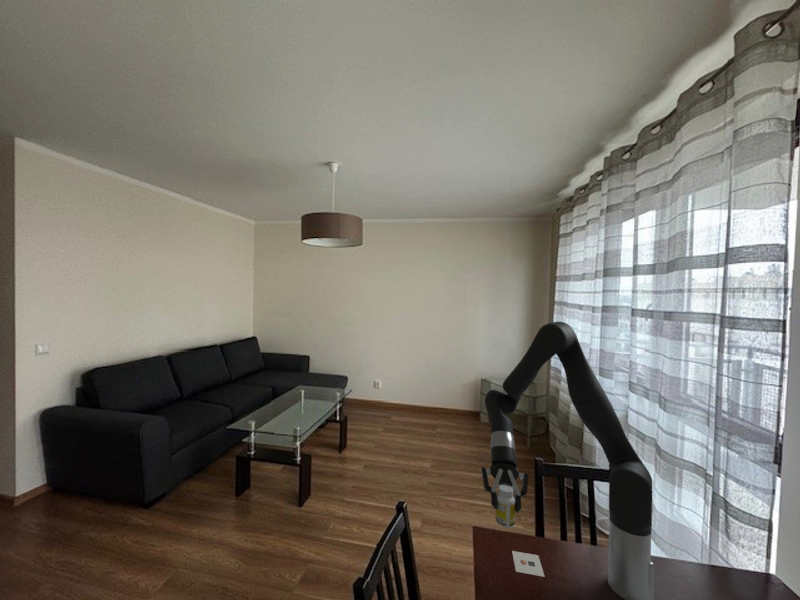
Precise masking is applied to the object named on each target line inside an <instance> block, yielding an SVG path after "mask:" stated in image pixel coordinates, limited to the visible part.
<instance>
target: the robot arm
mask: <svg viewBox="0 0 800 600" xmlns="http://www.w3.org/2000/svg"><path fill="white" fill-rule="evenodd" d="M554 356H557V357H558V359H559V361H560V364H561V365H562V367H563V370H564V373H565V378H566V385H567V390H568V395H569V398H570V400H571V402H572V405H573V407H574V408H575V410H576V412H577V415H578V416H579V418H580V420H581V421H582V423H583V424H584V425H585V428H587V430H588V431H589V432H590V433H591V434H592V436H593V437H594V438H595V440H597V442H598V444H599V446H600V447H601V448H602V450H603V452H604V455H605V457H606V459H607V462H608V464H609V467H610V471H611V472H610V476H609V484H608V511H609V516H608V517H609V525H608V531H609V532H608V556H607V557H608V558H607V559H608V560H607V583H608V586H609V587H610V589H611V590H612V591H613V593H615V594H616V595H617V596H619V597H620V598H622V599H623V600H655V599H654V598H655V597H654V596H655V595H654V594H655V591H654V590H655V564H654V563H653V561H652V560H651V559H652V554H651V551H652V525H653V523H652V521H653V519H652V518H653V517H652V516H653V479H652V475H651V474H650V472H649V469H647V467H646V465H645V464H644V462H643V461H642V459H641V458H640V457H639V455H638V453H637V452H636V450H635V449H634V447H633V446H632V444H631V442H630V440H629V439H628V437H627V435H626V433H625V431H624V428H623V426H622V424H621V421H620V419H619V417H618V415H617V413H616V411H615V408H614V407H613V405H612V403H611V402H610V399H609V397H608V395H607V394H606V392H605V390H604V388H603V387H602V385H601V383H600V381H599V380H598V378H597V376H596V374H595V373H594V370H593V369H592V367H591V366H590V364H589V362H588V360H587V358H586V356H585V354H584V351H583V348H582V346H581V343H580V341H579V338H578V336H577V334H576V331H575V330H574V328H573V327H572V326H571V325H570V324H568V323H566V322H565V321H553V322H550V323H546V324H544V325H542V326H541V327H540V328H539V329H538V332H537V333H536V335H535V337H534V338H533V340H532V343H531V344H530V346H529V347H528V349H527V351H526V352H525V354H524V356H523V357H522V358H521V359H520V361H519V363H518V364H517V365H516V366H515V367H514V369H513V370H512V371H511V372H510V373H509V375H508V376H506V378H505V379H504V381H503V382H502V389H503V391H504V392H505V393H504V392H502V391H499V390H495V389H491V390H488V392H487V393H486V395H485V398H484V404H485V405H484V406H485V410H486V412H487V416H488V418H489V422H490V459H491V460H490V461H491V463H490V464H491V466H490V467H489V468H488V467H487V468H486V467H482V468H481V471H480V473H481V478H482V484H483V489H484V491H485V492H488V493H489V494H490V504H491V507H493V510H496V509H497V496H496V495H497V492H496V491H497V489H498V488H499V486H500V485H509V486H511V487H512V488H513V495H514V497H515V500H516V506H515V514H516V513H517V514H519V513H520V511H521V510H522V500H521V499H522V498H525V497H527V494H528V486H529V474H528V472H525V473H523V472H519V471H520V470H519V469H518V466H517V464H518V463H517V452H516V442H515V438H514V427H513V421H512V420H511V418H510V417H508V416H510V415H512V414H513V413H515V411H516V409H517V406H518V404H519V402H520V400H521V397H522V396H523V394H524V393H525V392H526V391H527V389H528V388H529V387H530V386H531V385H532V383H533V382H534V381H535V379H536V377H537V375H538V374H539V371H540V370H541V369H542V367H543V366H544V365H545V364H546V363H547V362H548V361H550V360H551V358H553V357H554ZM490 475H491V476H492V477H493V479H494V482H493V484H492V486H490V484H489V480H488V477H489V476H490ZM518 477H519V480H520V481H521V482H522V485H521V486H522V487H521V490H520V488H519V487H518V484H517V478H518Z"/></svg>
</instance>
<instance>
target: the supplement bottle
mask: <svg viewBox="0 0 800 600" xmlns="http://www.w3.org/2000/svg"><path fill="white" fill-rule="evenodd" d="M496 496H497V509H495V522H496V524H498V526H500V527H502V528H505V529H511V528H513V527H514V526H515V525H516V509H515V506H516V500H515V495H514V492H513V488H512V487H511V486H509V485H505V484H504V485H500V484H499V485H498V492H496Z"/></svg>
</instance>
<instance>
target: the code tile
mask: <svg viewBox="0 0 800 600" xmlns="http://www.w3.org/2000/svg"><path fill="white" fill-rule="evenodd" d="M511 552H512V557H513V558H512V559H513V564H514V568H515V569H514V570H515V572H516V573H520V574H521V573H522V574H527V575H532V576H537V577H540V578H541V577H544V578H546V577H545V574H544V570H543V566H542V563H541V559H540V556H539V555H537V554H532V553H528V552H527V553H525V552H522V551H521V552H520V551H515V550H512V551H511Z"/></svg>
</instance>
